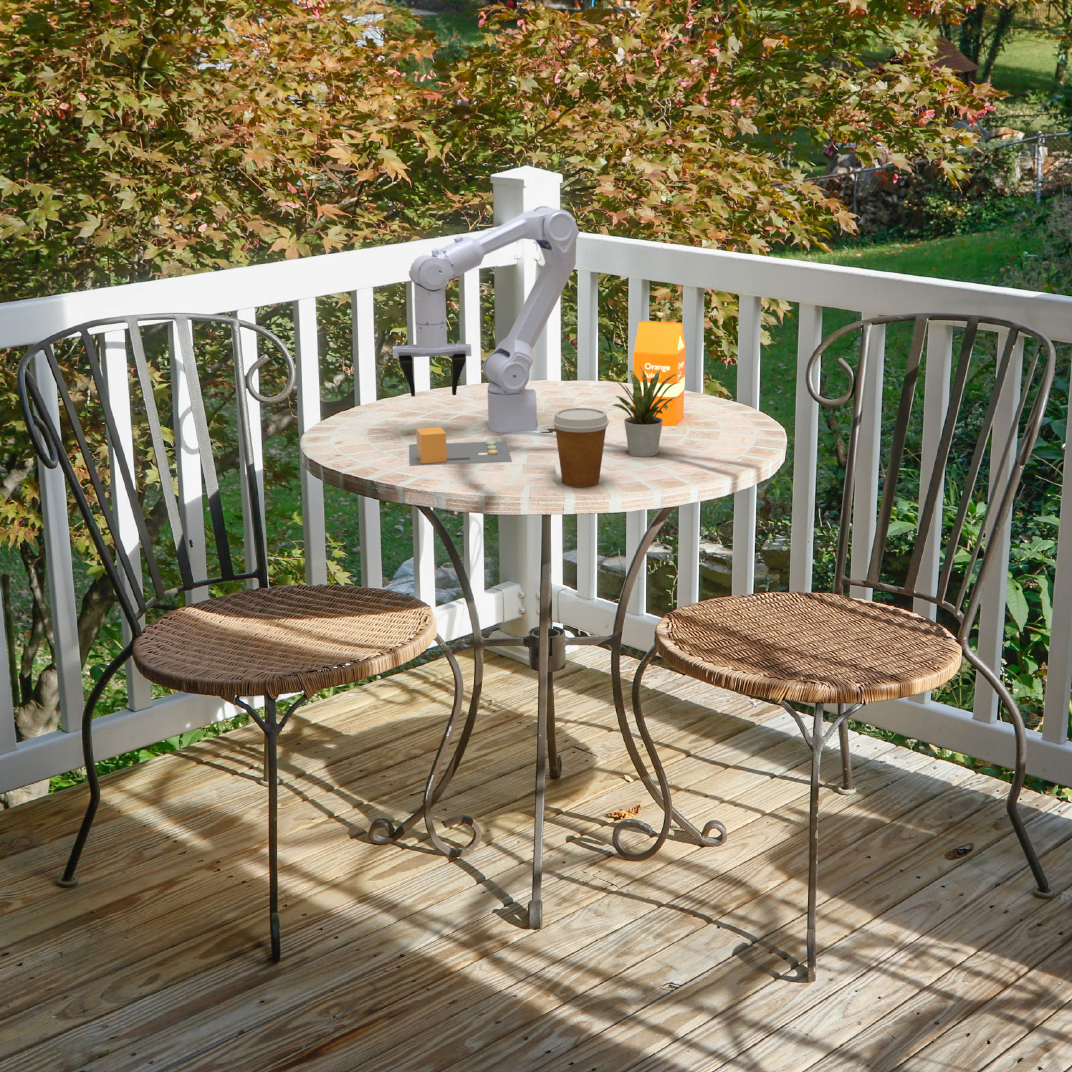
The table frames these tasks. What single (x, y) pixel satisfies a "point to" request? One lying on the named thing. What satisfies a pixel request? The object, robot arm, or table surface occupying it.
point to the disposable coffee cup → (580, 444)
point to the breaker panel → (468, 453)
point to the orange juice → (662, 364)
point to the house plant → (644, 414)
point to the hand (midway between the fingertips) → (433, 394)
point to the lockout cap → (431, 445)
